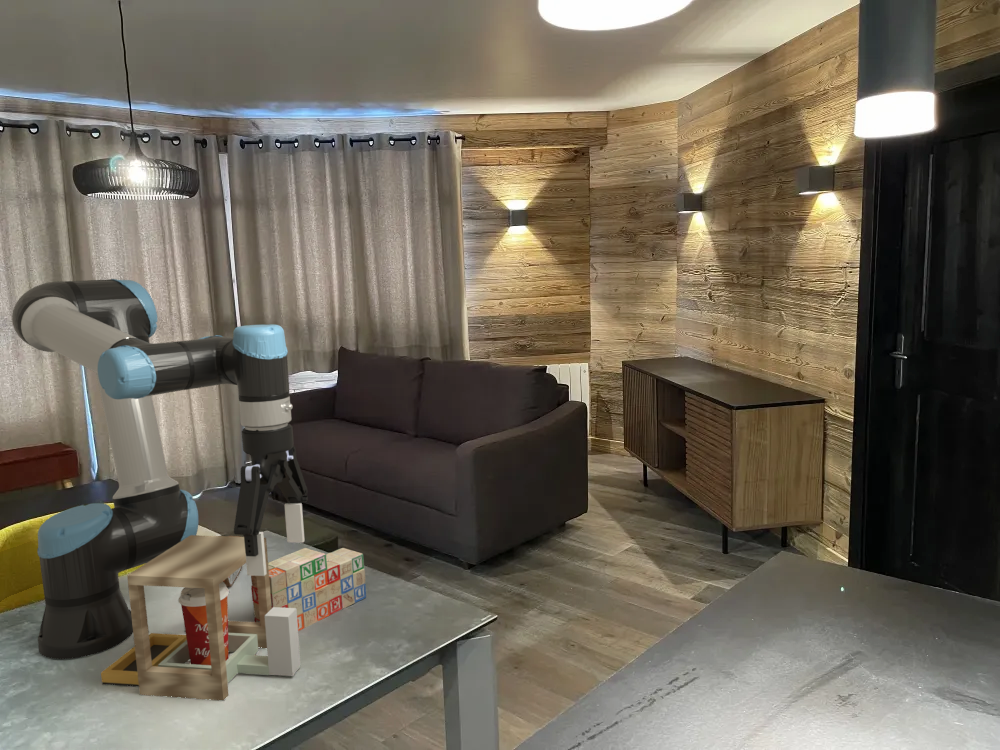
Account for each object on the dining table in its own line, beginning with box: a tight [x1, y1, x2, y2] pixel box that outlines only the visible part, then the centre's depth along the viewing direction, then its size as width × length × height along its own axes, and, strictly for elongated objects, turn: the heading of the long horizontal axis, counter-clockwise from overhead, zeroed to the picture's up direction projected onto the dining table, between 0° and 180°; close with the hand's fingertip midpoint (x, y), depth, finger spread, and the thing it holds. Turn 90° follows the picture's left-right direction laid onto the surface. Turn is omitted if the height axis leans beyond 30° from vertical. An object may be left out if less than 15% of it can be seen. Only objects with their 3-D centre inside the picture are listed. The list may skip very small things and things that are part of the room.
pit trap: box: [100, 632, 187, 688], centre depth 124 cm, size 7×13×2 cm, turn 171°
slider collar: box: [158, 607, 302, 684], centre depth 121 cm, size 21×11×10 cm, turn 81°
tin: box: [223, 535, 243, 588], centre depth 157 cm, size 15×3×8 cm, turn 6°
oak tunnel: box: [126, 534, 272, 701], centre depth 121 cm, size 14×17×20 cm
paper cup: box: [177, 582, 230, 665], centre depth 121 cm, size 8×8×14 cm
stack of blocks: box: [250, 547, 367, 632], centre depth 140 cm, size 21×6×12 cm, turn 142°
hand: (277, 557), depth 117 cm, fingers open, 13 cm apart
